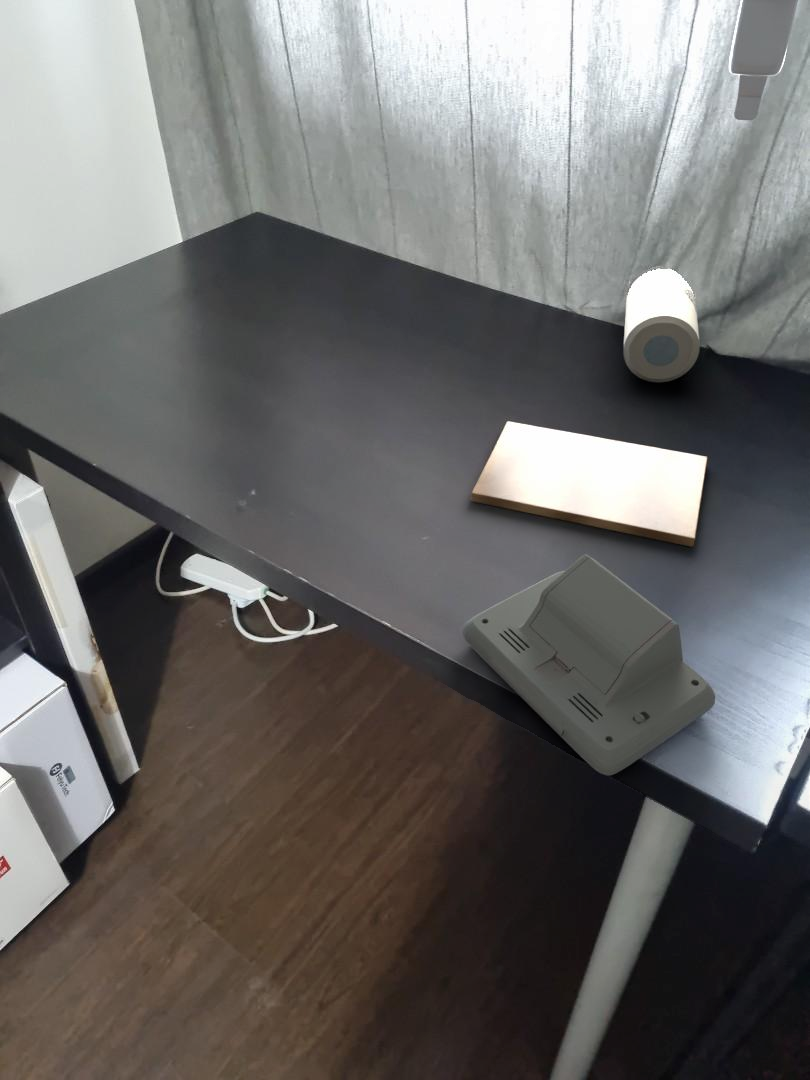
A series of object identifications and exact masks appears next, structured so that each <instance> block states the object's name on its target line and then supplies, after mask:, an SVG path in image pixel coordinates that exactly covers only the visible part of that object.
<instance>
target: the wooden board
mask: <svg viewBox="0 0 810 1080" xmlns="http://www.w3.org/2000/svg"><path fill="white" fill-rule="evenodd" d="M707 464H708V456H704V455H700V454H694V453H688V452H683V451H677V450H673V449H672V450H671V449H665V448H661V447H655V446H649V445H643V444H639V443H638V444H637V443H632V442H628V441H627V442H626V441H621V440H616V439H610V438H604V437H599V436H593V435H587V434H583V433H582V434H581V433H576V432H570V431H565V430H559V429H553V428H548V427H543V426H537V425H531V424H526V423H520V422H515V421H509V420H508V421H506V423H505V425H504V427H503V430H502V431H501V433H500V435H499V437H498V439H497V441H496V443H495V445H494V447H493V450H492V451H491V453H490V456H489V457H488V459H487V462H486V463H485V465H484V467H483V469H482V471H481V474H480V475H479V478H478V479H477V481H476V484H475V485H474V487H473V490H472V492H471V497H470V501H471V502H475V503H478V504H484V505H489V506H493V507H499V508H503V509H507V510H513V511H517V512H521V513H528V514H532V515H537V516H542V517H546V518H551V519H556V520H561V521H565V522H571V523H575V524H579V525H585V526H590V527H595V528H599V529H604V530H609V531H614V532H619V533H624V534H628V535H633V536H637V537H642V538H647V539H651V540H652V539H653V540H658V541H662V542H667V543H671V544H676V545H682V546H685V547H691V548H692V547H694V544H695V541H696V536H697V529H698V523H699V517H700V516H699V515H700V509H701V504H702V497H703V491H704V483H705V477H706V470H707Z"/></svg>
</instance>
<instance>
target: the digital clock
mask: <svg viewBox="0 0 810 1080" xmlns="http://www.w3.org/2000/svg"><path fill="white" fill-rule="evenodd" d="M461 635H462V637H463V639H464V640H465V642H467V644H468V645H469V646H470V647H471V648H472V649H473V651H475V652H476V653H477V655H479V656H480V658H481V659H483V661H484V662H486V664H487V665H488V666H489V667H490V668H491V669H492V670H493V671H495V673H496V674H497V675H498V676H499V677H500V678H501V679H502V680H503V681H505V683H506V684H507V685H508V686H509V687H510V688H511V689H512V690H513V691H514V692H515V693H516V694H517V695H518V696H519V697H521V699H522V700H523V701H524V702H525V703H526V704H527V705H528V706H529V707H530V708H531V709H532V710H533V711H534V712H536V714H537V715H538V716H539V717H541V718H542V719H543V721H544V722H545V723H546V724H548V726H549V727H550V728H551V729H553V730H554V732H555V733H556V734H557V735H559V736H560V738H561V739H563V741H565V743H566V744H568V745H569V747H570V748H572V750H573V751H574V752H575V753H576V754H577V755H579V757H581V758H582V759H583V760H584V761H585V762H586V763H587V764H588V765H589V766H591V768H592V769H593V770H595V771H596V772H597V773H600V774H602V775H603V776H604V775H605V776H613V775H615V774H617V773H619V772H621V771H622V770H624V769H626V768H627V767H629V766H631V765H632V764H633V763H635V762H637V761H638V760H639V759H640V758H642V757H644V756H646V754H648V753H650V752H651V751H652V750H654V749H655V748H657V747H658V746H659V745H661V744H662V743H664V742H665V741H667V740H668V739H670V738H671V737H673V736H674V735H676V734H677V733H679V732H680V731H682V730H683V729H685V728H686V727H687V726H689V725H690V724H692V723H693V722H694V721H697V719H699V718H700V717H702V716H703V715H705V714H706V713H707V712H709V711H711V709H712V708H713V707H714V705H715V703H716V693H715V691H714V689H713V687H712V686H711V684H710V683H709V682H708V681H707V680H706V679H705V678H704V677H703V676H702V675H701V674H699V673H698V672H697V670H695V669H693V667H691V666H690V665H689V664H687V663H686V662H685V661H684V655H683V648H682V638H681V629H680V625H679V624H678V623H677V622H676V621H675V620H673V618H671V617H670V616H669V615H667V614H666V613H665V612H663V611H662V610H660V608H658V607H657V606H656V605H654V604H652V603H651V602H650V601H649V600H648V599H646V598H645V597H644V596H642V595H641V594H640V593H638V592H637V591H636V590H635V589H633V588H632V587H631V586H630V585H628V584H627V583H626V582H624V581H623V579H620V578H619V577H618V576H617V575H615V574H614V573H613V572H611V571H610V570H609V569H607V567H605V566H604V565H602V564H601V563H600V562H598V561H597V560H596V559H594V558H593V557H591V556H590V555H589V554H587V553H585V554H583V555H582V556H581V557H580V558H578V559H577V560H576V561H575V562H574V563H572V564H571V565H570V566H569V567H567V569H565V570H561V571H558V572H555V573H553V574H552V575H550V576H548V577H546V578H544V579H542V580H540V581H538V582H536V583H535V584H533V585H530V586H529V587H527V588H525V589H523V590H520V591H518V592H517V593H515V594H513V595H511V596H509V597H508V598H506V599H504V600H501V601H500V602H497V603H496V604H494V605H492V606H491V607H488V608H487V609H485V610H482V611H481V612H479V613H477V614H476V615H474V616H472V617H471V618H469V619H468V620H467V621H466V622H464V625H463V626H462V629H461Z"/></svg>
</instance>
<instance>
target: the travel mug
mask: <svg viewBox="0 0 810 1080" xmlns="http://www.w3.org/2000/svg"><path fill="white" fill-rule="evenodd" d="M660 268H666V267H663V266H656V267H652V268H650V269H648V270H645V271H643V272H642V273H640V274H639V275H638V276H636V278H634V280H633V281H632V282H631V284H630V286H629V285H628V287H629V288H628V287H627V290H628V291H629V292H628V291H626V299H625V301H626V302H625V316H624V317H625V318H624V320H625V321H624V332H623V333H624V334H623V335H624V336H623V351H622V352H623V360H624V362H625V365H626V366H627V368H628V369H629V371H630V372H631V373H632V374H634V375H635V376H636V377H637V378H639V379H641V380H644V381H646V382H651V383H665V382H666V383H667V382H671V381H675V380H676V379H679V378H681V377H682V376H684V375H685V374H686V373H688V372H689V371H690V370H691V369H692V368H693V367H694V365H695V364H696V362H697V359H698V357H699V354H700V349H701V347H700V345H701V344H700V333H699V324H698V323H699V322H698V310H697V300H696V301H695V299H696V296H695V297H694V294H693V291H692V289H691V287H690V286H689V284H688V283H687V281H685V280H684V278H682V276H681V275H680V274H678V273H677V272H676V271H674V270H672V269H670V268H668V269H660ZM654 269H656V270H654ZM651 270H652V271H651ZM646 272H647V273H646ZM641 275H642V276H641ZM630 287H631V288H630ZM627 294H628V295H627Z"/></svg>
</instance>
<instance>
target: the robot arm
mask: <svg viewBox="0 0 810 1080" xmlns="http://www.w3.org/2000/svg"><path fill="white" fill-rule="evenodd" d="M798 2H799V0H740V4H739V8H738V14H737V19H736V24H735V29H734V34H733V39H732V44H731V50H730V55H729V63H728V70H729V72H730V74H732V75H737V76H739V79H738V87H737V88H738V89H737V96H736V102H735V107H734V112H733V116H734V119H735V120H738V121H753V120H755V119H756V118H757V116H758V113H759V109H760V105H761V101H762V96H763V93H764V90H765V86H766V84H767V80H768V77H774V76H777V75H778V74H780V72H781V70H782V68H783V66H784V62H785V59H786V54H787V50H788V46H789V42H790V38H791V33H792V28H793V24H794V19H795V16H796V12H797V7H798V4H799V3H798Z"/></svg>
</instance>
